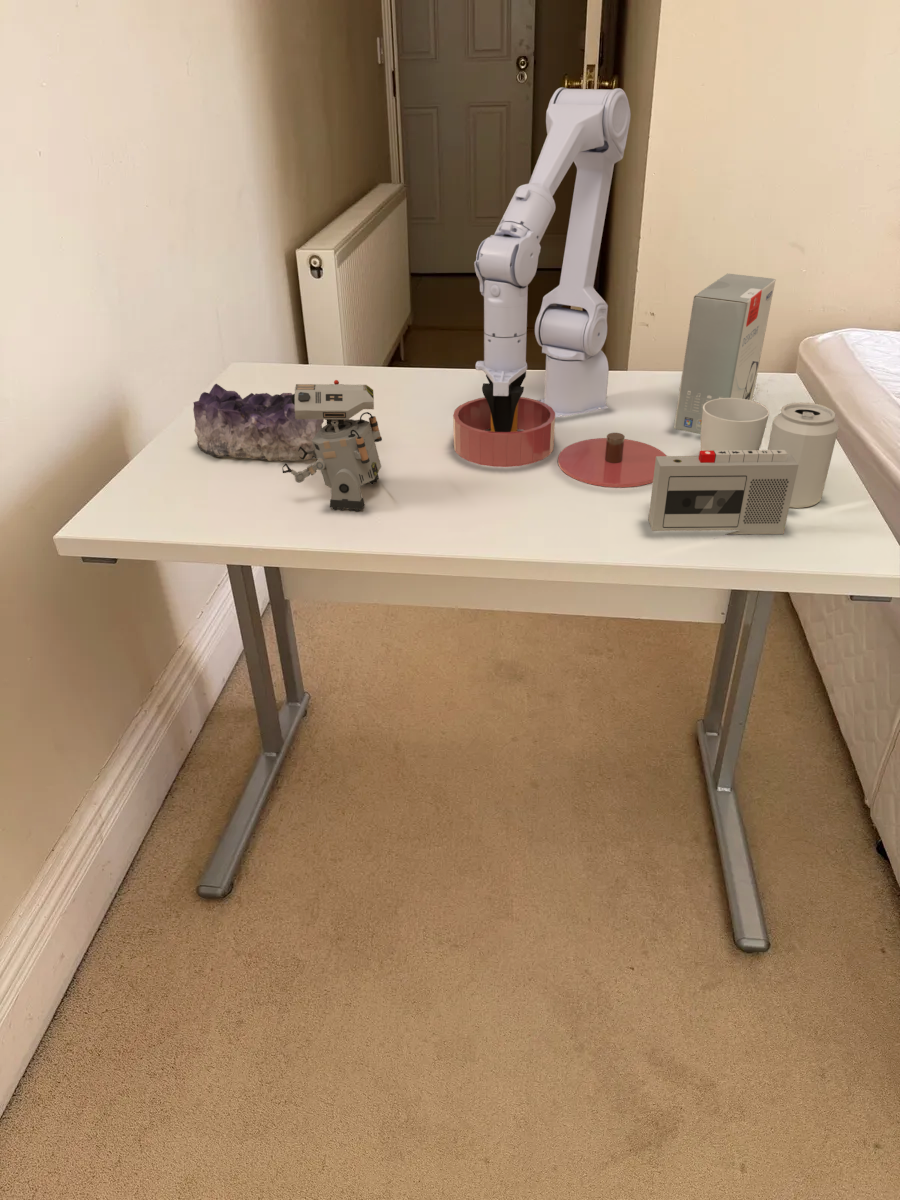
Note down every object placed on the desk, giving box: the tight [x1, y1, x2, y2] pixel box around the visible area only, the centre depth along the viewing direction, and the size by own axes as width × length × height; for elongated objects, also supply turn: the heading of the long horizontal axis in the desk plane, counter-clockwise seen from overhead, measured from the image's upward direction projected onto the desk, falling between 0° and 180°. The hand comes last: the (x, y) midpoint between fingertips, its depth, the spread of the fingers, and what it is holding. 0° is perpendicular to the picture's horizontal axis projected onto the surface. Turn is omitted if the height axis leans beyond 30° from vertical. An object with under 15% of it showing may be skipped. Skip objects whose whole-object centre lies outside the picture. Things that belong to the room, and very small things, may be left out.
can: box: [767, 402, 840, 509], centre depth 107 cm, size 8×8×12 cm
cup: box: [699, 398, 770, 451], centre depth 112 cm, size 8×8×10 cm
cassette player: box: [648, 449, 799, 535], centre depth 101 cm, size 16×3×10 cm, turn 89°
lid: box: [557, 432, 667, 488], centre depth 118 cm, size 15×15×5 cm
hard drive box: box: [673, 273, 777, 435], centre depth 127 cm, size 16×8×20 cm, turn 148°
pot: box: [452, 396, 556, 468], centre depth 124 cm, size 14×14×5 cm
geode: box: [192, 383, 325, 462], centre depth 124 cm, size 20×12×10 cm, turn 84°
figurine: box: [281, 379, 383, 512], centre depth 110 cm, size 9×12×15 cm
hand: (504, 427), depth 123 cm, fingers closed on candle, 4 cm apart
